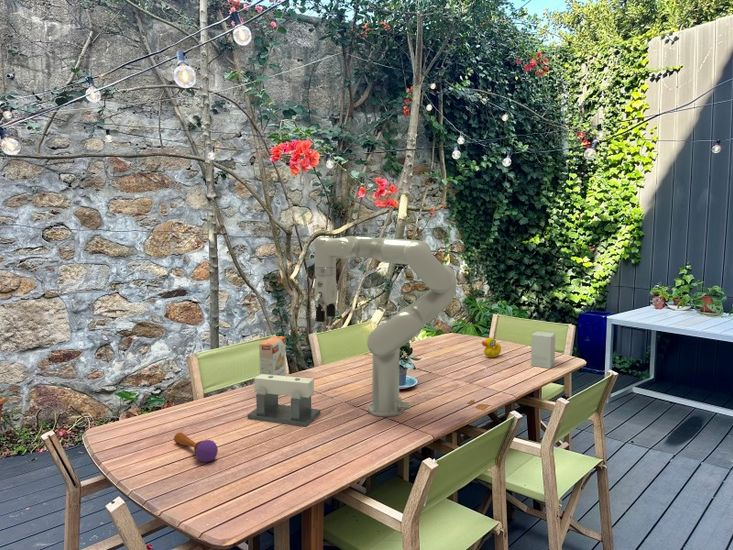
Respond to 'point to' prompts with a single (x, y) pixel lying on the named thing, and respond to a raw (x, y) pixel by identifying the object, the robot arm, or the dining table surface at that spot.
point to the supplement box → (543, 349)
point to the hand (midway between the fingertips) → (325, 319)
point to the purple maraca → (199, 447)
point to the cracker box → (273, 356)
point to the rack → (283, 409)
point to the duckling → (491, 348)
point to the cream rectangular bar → (284, 385)
